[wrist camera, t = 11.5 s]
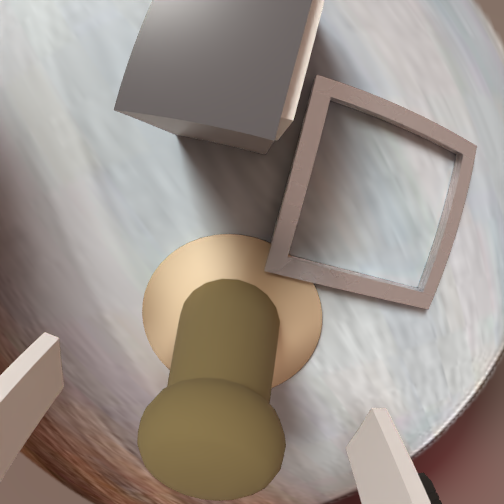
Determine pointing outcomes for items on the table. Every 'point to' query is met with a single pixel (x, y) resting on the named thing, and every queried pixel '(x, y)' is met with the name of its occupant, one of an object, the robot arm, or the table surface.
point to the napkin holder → (221, 68)
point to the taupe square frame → (300, 177)
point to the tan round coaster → (232, 267)
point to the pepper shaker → (218, 397)
